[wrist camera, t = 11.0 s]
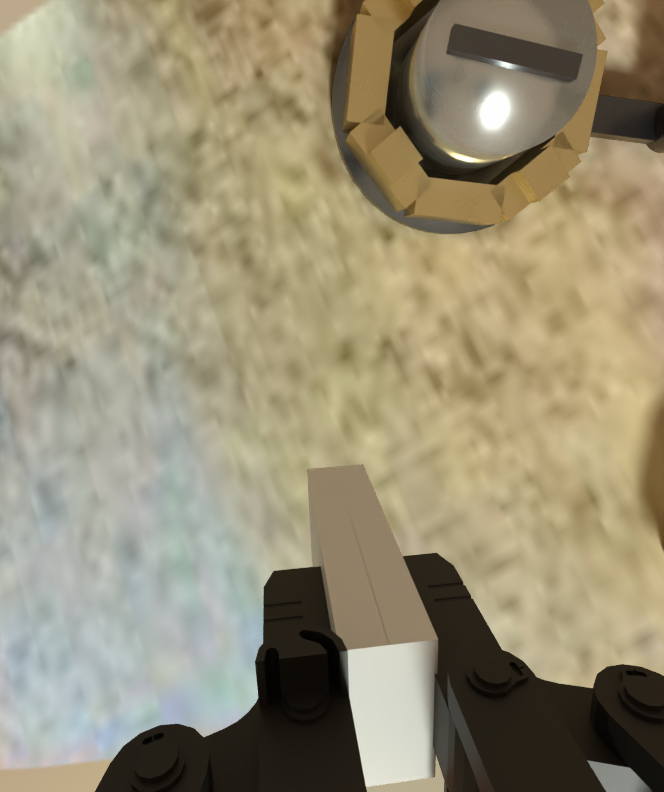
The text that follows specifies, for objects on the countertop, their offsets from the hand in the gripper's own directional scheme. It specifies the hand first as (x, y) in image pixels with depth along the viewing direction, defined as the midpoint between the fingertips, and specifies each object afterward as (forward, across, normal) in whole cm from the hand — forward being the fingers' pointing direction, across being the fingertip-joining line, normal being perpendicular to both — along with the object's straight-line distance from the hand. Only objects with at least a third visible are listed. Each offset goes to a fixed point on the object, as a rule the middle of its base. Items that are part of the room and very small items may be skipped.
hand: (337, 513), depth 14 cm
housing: (+23, +10, +15) cm, 29 cm away
